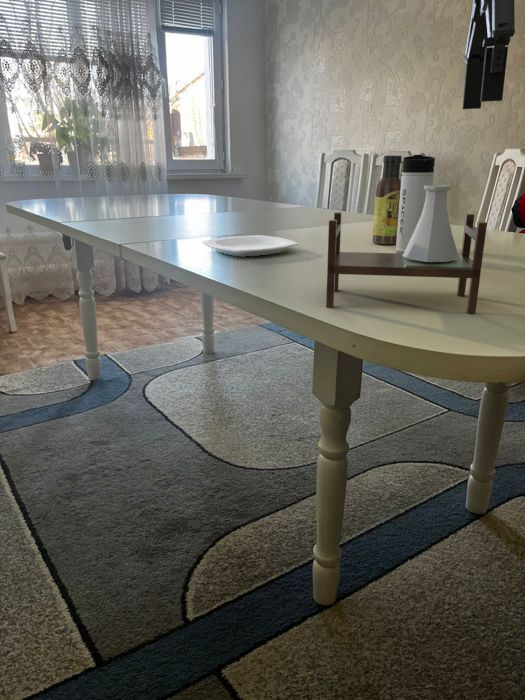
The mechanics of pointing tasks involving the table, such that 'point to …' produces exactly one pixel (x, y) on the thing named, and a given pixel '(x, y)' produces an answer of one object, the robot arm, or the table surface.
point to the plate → (250, 245)
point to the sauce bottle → (387, 202)
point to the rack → (408, 262)
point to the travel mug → (412, 196)
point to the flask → (433, 230)
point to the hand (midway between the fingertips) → (480, 105)
